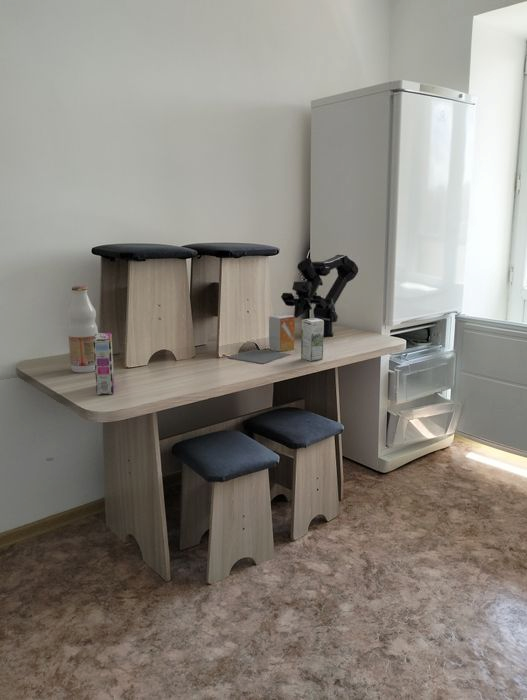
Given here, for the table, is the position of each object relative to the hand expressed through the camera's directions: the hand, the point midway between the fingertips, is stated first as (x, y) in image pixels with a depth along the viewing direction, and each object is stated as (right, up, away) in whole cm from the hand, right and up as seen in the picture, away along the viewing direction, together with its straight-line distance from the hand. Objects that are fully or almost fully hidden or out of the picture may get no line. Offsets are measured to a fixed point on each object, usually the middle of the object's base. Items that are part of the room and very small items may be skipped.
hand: (295, 317), depth 225 cm
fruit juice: (-72, -20, -33) cm, 82 cm away
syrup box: (+5, -16, -20) cm, 27 cm away
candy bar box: (-59, -25, -56) cm, 85 cm away
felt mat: (-14, -15, -16) cm, 26 cm away
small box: (-5, -13, -5) cm, 15 cm away
